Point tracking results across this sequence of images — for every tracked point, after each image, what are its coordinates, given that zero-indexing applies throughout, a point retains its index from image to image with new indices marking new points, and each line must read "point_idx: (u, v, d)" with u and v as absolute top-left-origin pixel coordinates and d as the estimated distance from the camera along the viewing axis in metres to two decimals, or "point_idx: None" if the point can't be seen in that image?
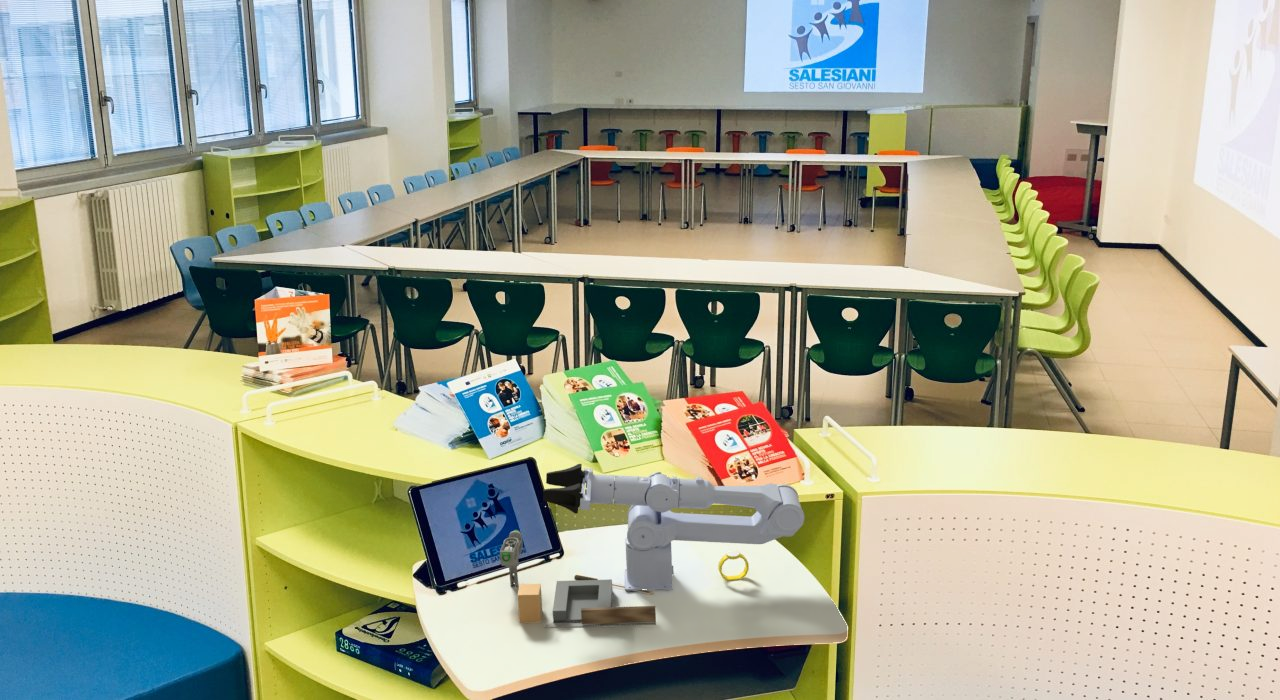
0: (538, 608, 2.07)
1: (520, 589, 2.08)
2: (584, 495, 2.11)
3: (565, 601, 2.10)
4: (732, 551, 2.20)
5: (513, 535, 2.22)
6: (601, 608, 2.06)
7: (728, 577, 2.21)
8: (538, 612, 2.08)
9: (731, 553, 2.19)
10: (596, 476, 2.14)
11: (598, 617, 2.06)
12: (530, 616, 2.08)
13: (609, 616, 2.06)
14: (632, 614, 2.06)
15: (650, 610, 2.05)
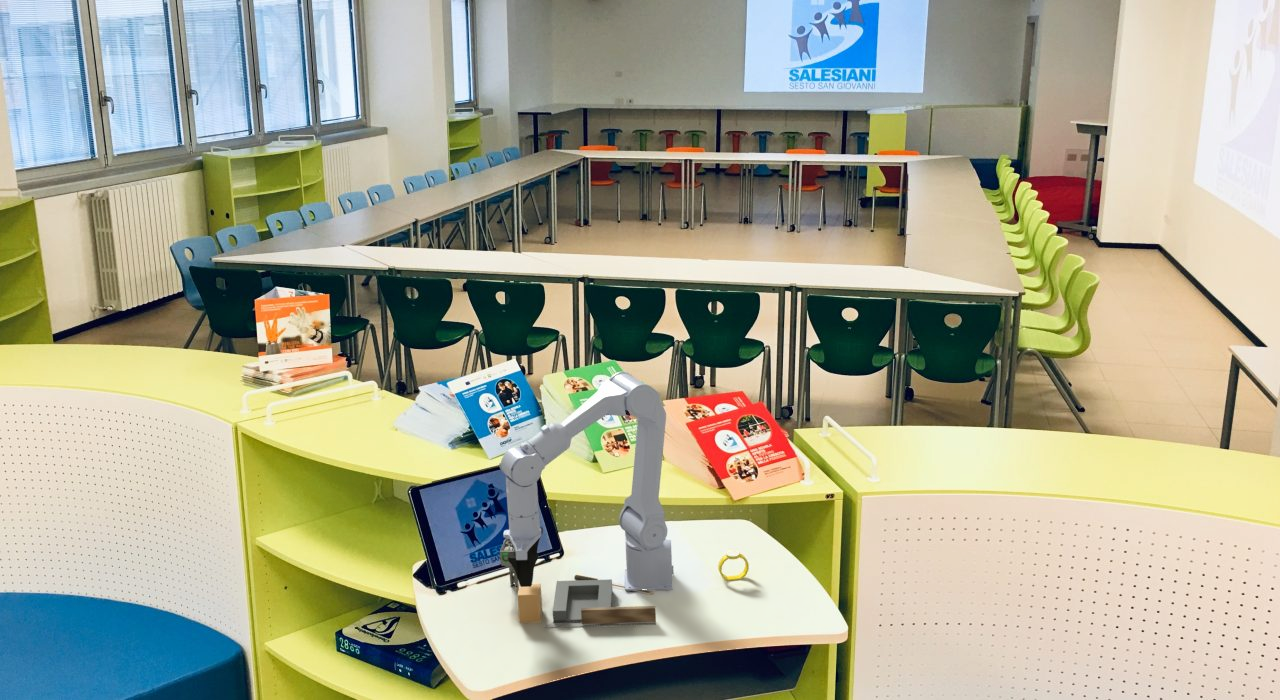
0: (538, 608, 2.07)
1: (520, 589, 2.08)
2: None
3: (565, 601, 2.10)
4: (732, 551, 2.20)
5: None
6: (601, 608, 2.06)
7: (728, 577, 2.21)
8: (538, 612, 2.08)
9: (731, 553, 2.19)
10: (509, 528, 2.04)
11: (598, 617, 2.06)
12: (530, 616, 2.08)
13: (609, 616, 2.06)
14: (632, 614, 2.06)
15: (650, 610, 2.05)
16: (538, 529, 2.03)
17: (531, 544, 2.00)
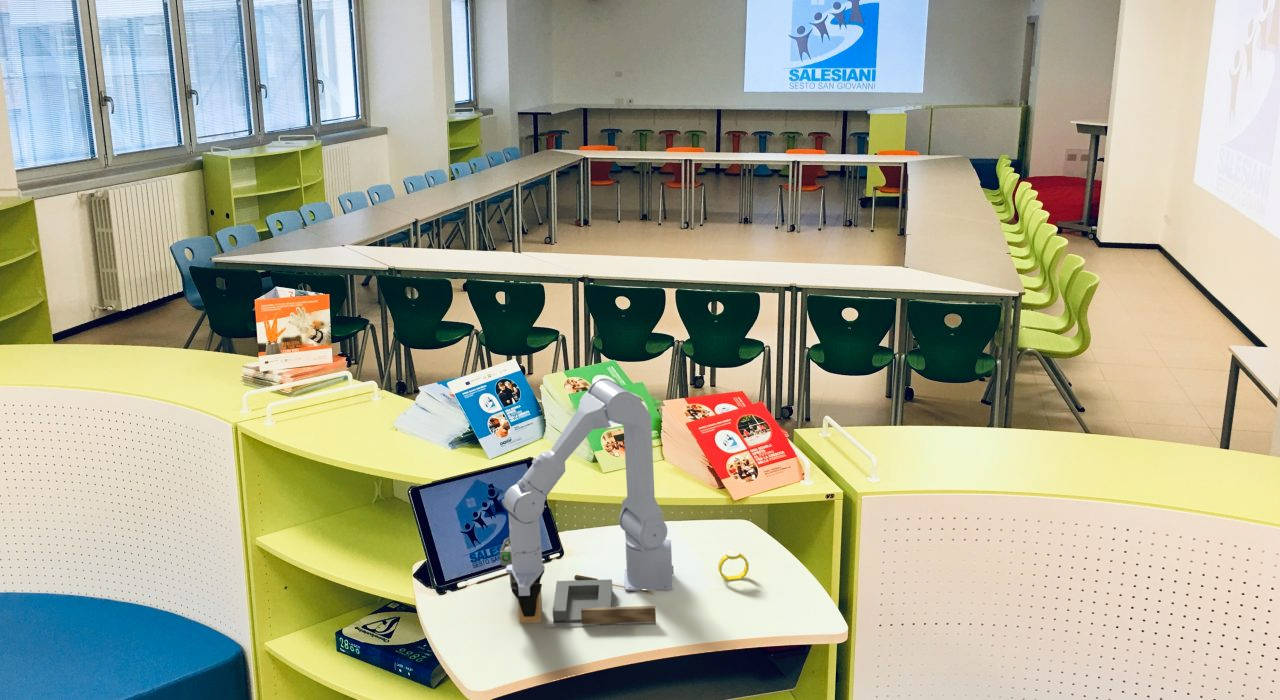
0: (538, 608, 2.07)
1: None
2: None
3: (565, 601, 2.10)
4: (732, 551, 2.20)
5: None
6: (601, 608, 2.06)
7: (728, 577, 2.21)
8: (538, 612, 2.07)
9: (731, 553, 2.19)
10: None
11: (598, 617, 2.06)
12: None
13: (609, 616, 2.06)
14: (632, 614, 2.06)
15: (650, 610, 2.05)
16: (540, 564, 2.06)
17: (534, 579, 2.03)
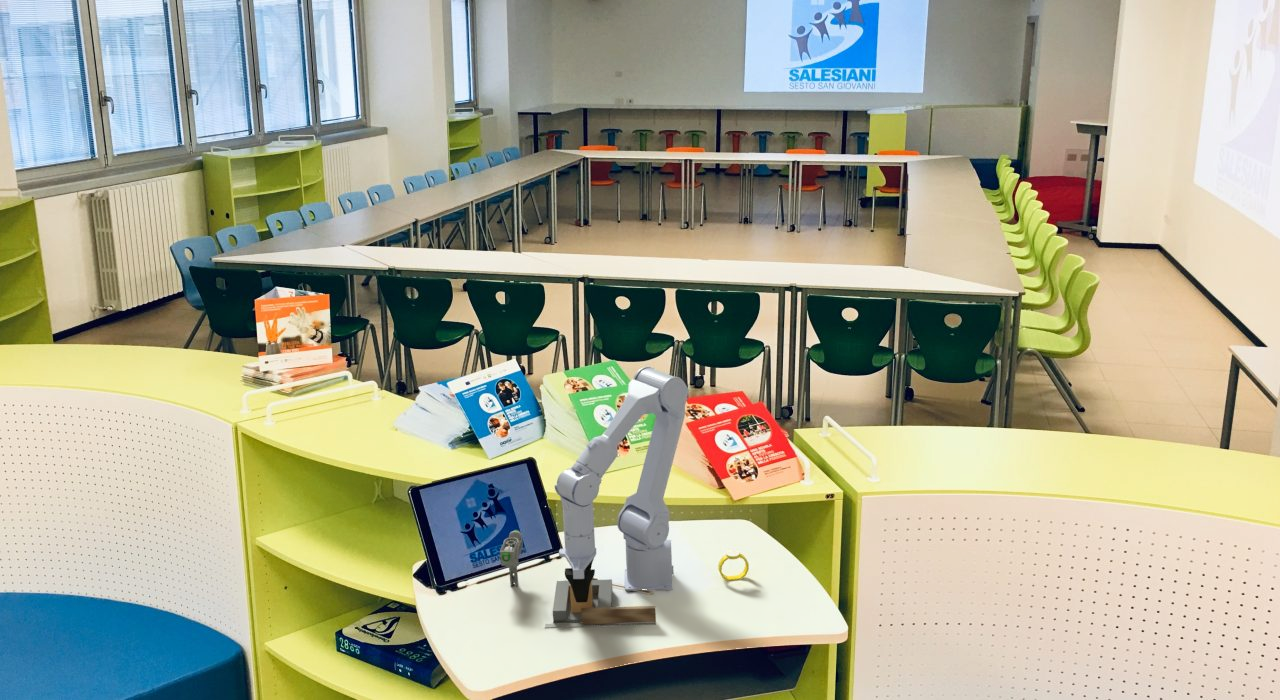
0: (590, 598, 2.09)
1: None
2: None
3: (565, 601, 2.10)
4: (732, 551, 2.20)
5: (513, 535, 2.22)
6: (601, 608, 2.06)
7: (728, 577, 2.21)
8: (590, 602, 2.09)
9: (731, 553, 2.19)
10: (565, 547, 2.07)
11: (598, 617, 2.06)
12: (582, 606, 2.09)
13: (609, 616, 2.06)
14: (632, 614, 2.06)
15: (650, 610, 2.05)
16: (593, 548, 2.07)
17: (587, 563, 2.04)
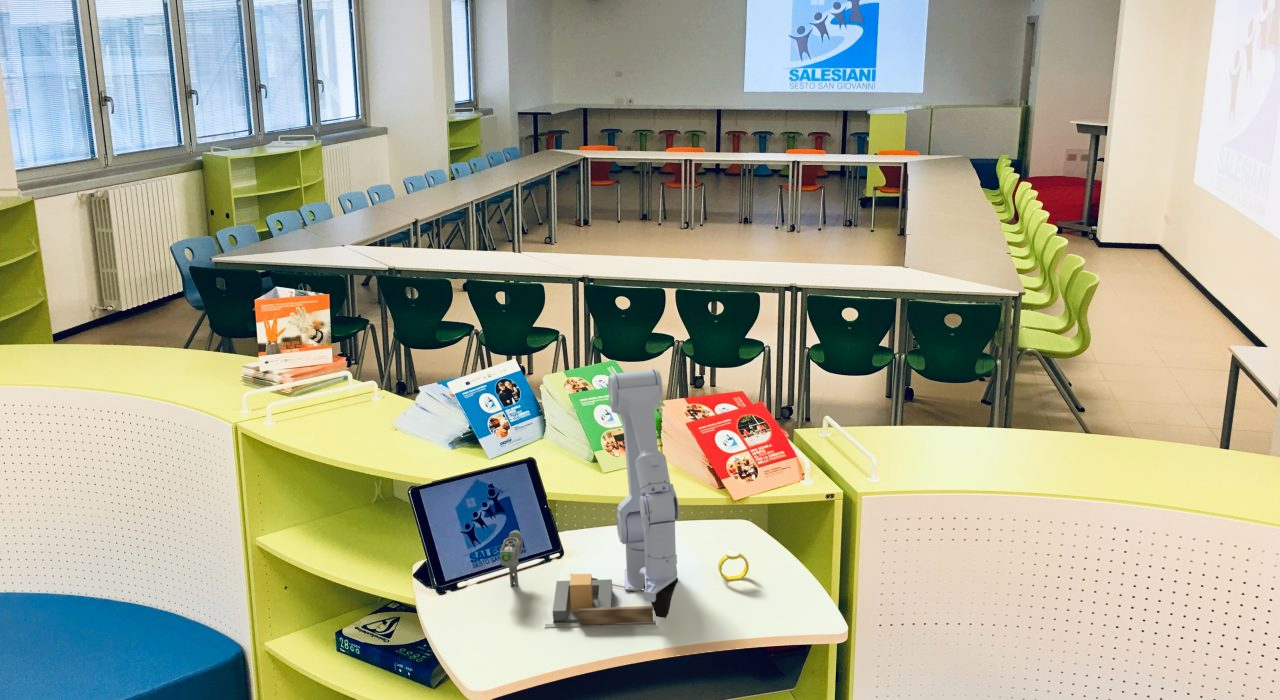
0: (590, 598, 2.09)
1: (572, 579, 2.10)
2: None
3: (565, 601, 2.10)
4: (732, 551, 2.20)
5: (513, 535, 2.22)
6: (598, 608, 2.06)
7: (728, 577, 2.21)
8: (590, 602, 2.09)
9: (731, 553, 2.19)
10: None
11: (595, 617, 2.06)
12: (582, 606, 2.09)
13: (606, 616, 2.06)
14: (629, 614, 2.06)
15: (647, 610, 2.05)
16: (673, 572, 2.01)
17: (662, 587, 1.99)
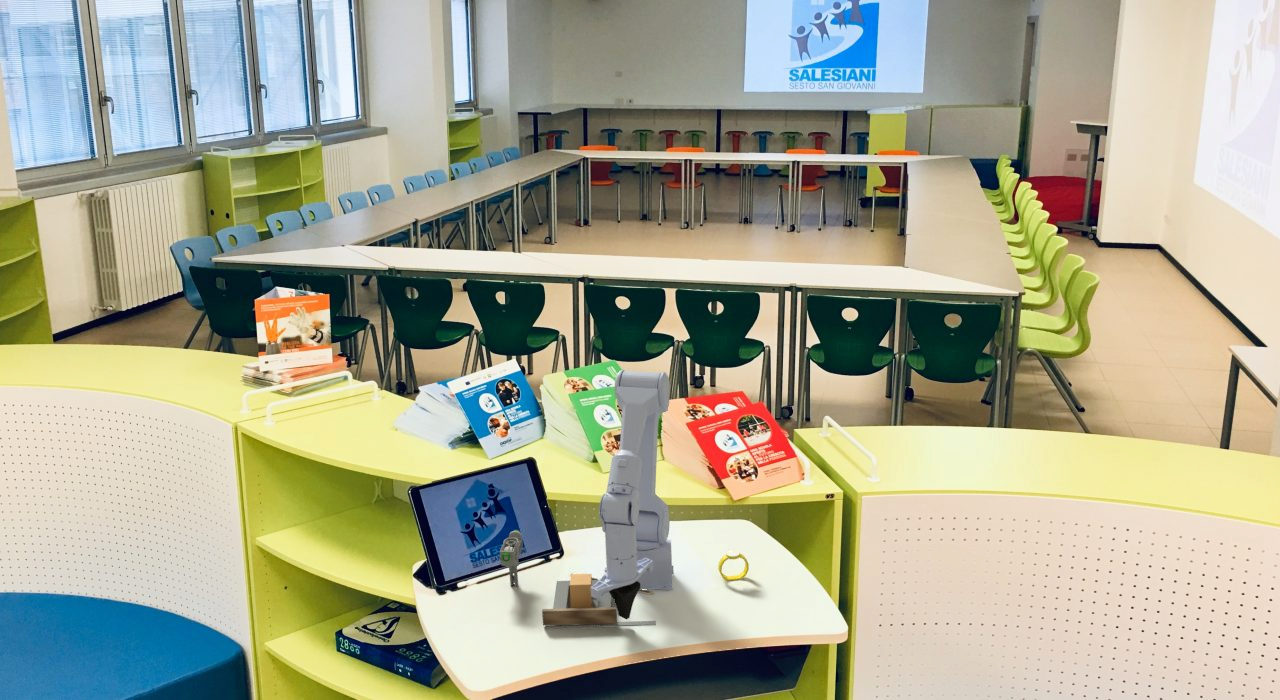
0: (590, 598, 2.09)
1: (572, 579, 2.10)
2: None
3: (565, 601, 2.10)
4: (732, 551, 2.20)
5: (513, 535, 2.22)
6: (562, 609, 2.06)
7: (728, 577, 2.21)
8: (590, 602, 2.09)
9: (731, 553, 2.19)
10: None
11: (559, 618, 2.06)
12: (582, 606, 2.09)
13: (570, 617, 2.06)
14: (593, 615, 2.06)
15: (611, 611, 2.05)
16: (628, 576, 2.00)
17: (611, 587, 1.99)
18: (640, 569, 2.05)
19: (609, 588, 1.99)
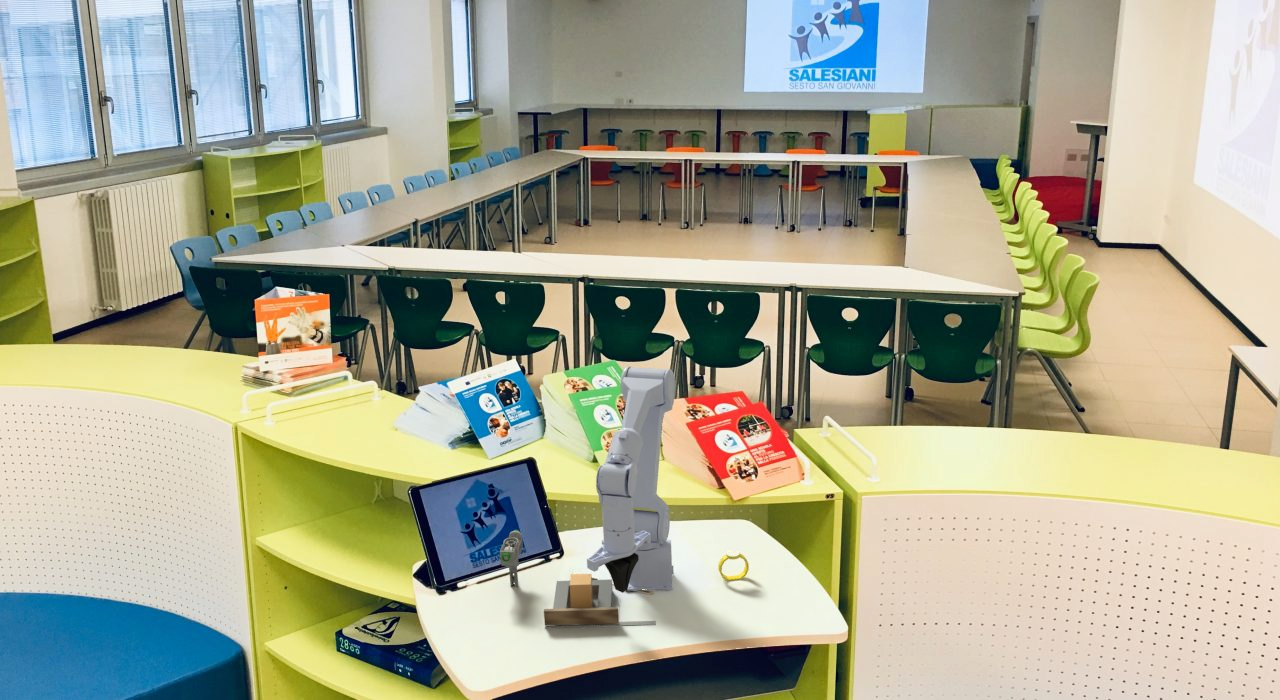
0: (590, 598, 2.09)
1: (572, 579, 2.10)
2: None
3: (565, 601, 2.10)
4: (732, 551, 2.20)
5: (513, 535, 2.22)
6: (564, 609, 2.06)
7: (728, 577, 2.21)
8: (590, 602, 2.09)
9: (731, 553, 2.19)
10: None
11: (561, 618, 2.06)
12: (582, 606, 2.09)
13: (572, 617, 2.06)
14: (595, 615, 2.06)
15: (612, 611, 2.05)
16: (625, 548, 1.99)
17: (608, 559, 1.97)
18: (637, 542, 2.04)
19: (606, 560, 1.97)
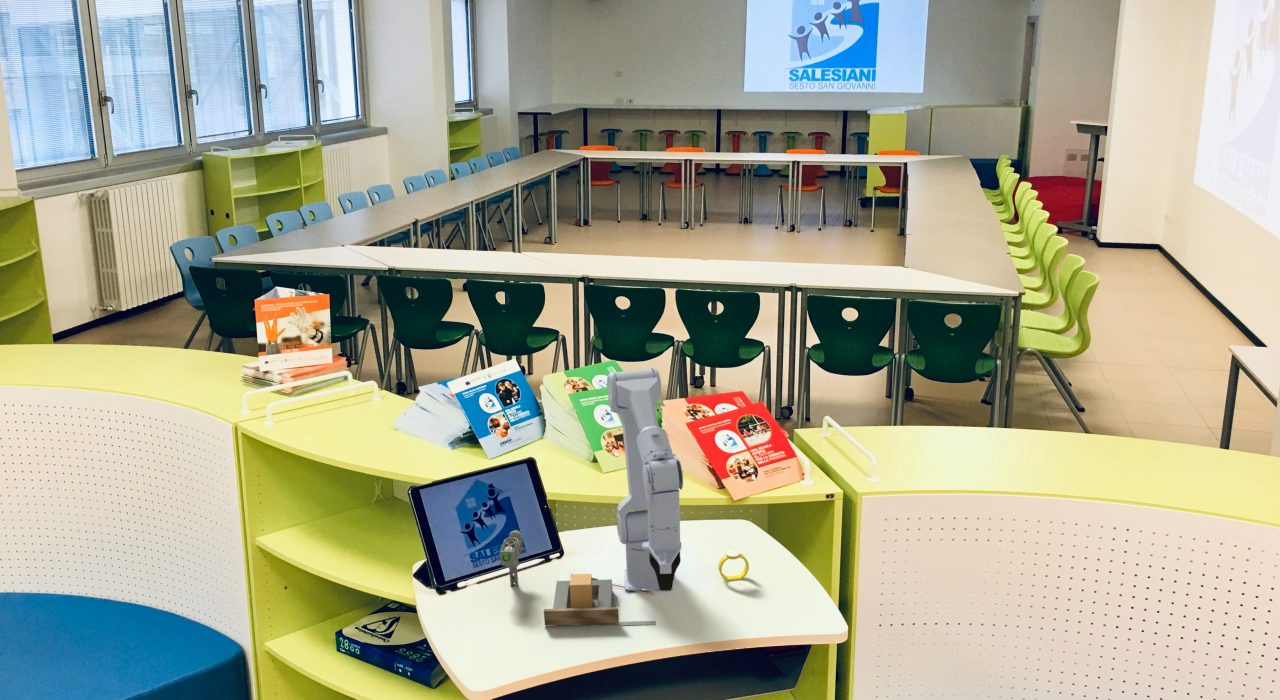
0: (590, 598, 2.09)
1: (572, 579, 2.10)
2: None
3: (565, 601, 2.10)
4: (732, 551, 2.20)
5: (513, 535, 2.22)
6: (564, 609, 2.06)
7: (728, 577, 2.21)
8: (590, 602, 2.09)
9: (731, 553, 2.19)
10: (648, 540, 1.97)
11: (561, 618, 2.06)
12: (582, 606, 2.09)
13: (572, 617, 2.06)
14: (595, 615, 2.06)
15: (612, 611, 2.05)
16: (679, 541, 1.96)
17: (674, 557, 1.93)
18: None
19: (673, 559, 1.93)
